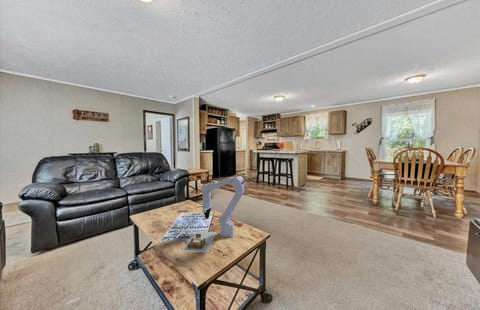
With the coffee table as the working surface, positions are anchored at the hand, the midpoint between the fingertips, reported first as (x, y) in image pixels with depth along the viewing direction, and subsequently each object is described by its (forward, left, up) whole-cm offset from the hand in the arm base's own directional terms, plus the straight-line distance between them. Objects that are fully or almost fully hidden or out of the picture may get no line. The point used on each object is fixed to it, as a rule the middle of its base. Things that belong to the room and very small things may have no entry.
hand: (207, 218), depth 126 cm
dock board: (+1, +14, -10) cm, 17 cm away
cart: (+2, +18, -9) cm, 20 cm away
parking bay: (+2, +18, -9) cm, 21 cm away
